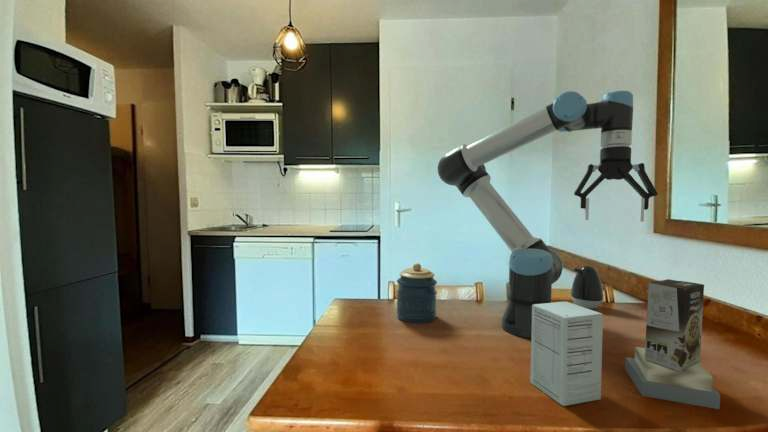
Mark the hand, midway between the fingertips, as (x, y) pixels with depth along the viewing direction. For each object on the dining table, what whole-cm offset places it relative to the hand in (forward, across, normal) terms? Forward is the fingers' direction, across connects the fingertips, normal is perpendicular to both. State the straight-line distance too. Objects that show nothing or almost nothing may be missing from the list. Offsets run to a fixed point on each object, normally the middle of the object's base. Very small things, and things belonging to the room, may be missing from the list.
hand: (612, 220), depth 103 cm
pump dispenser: (+33, -2, +25) cm, 41 cm away
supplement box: (+33, -16, -42) cm, 56 cm away
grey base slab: (+34, +4, -32) cm, 47 cm away
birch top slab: (+30, +4, -32) cm, 44 cm away
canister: (+33, -56, -10) cm, 66 cm away
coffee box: (+27, +5, -33) cm, 43 cm away
